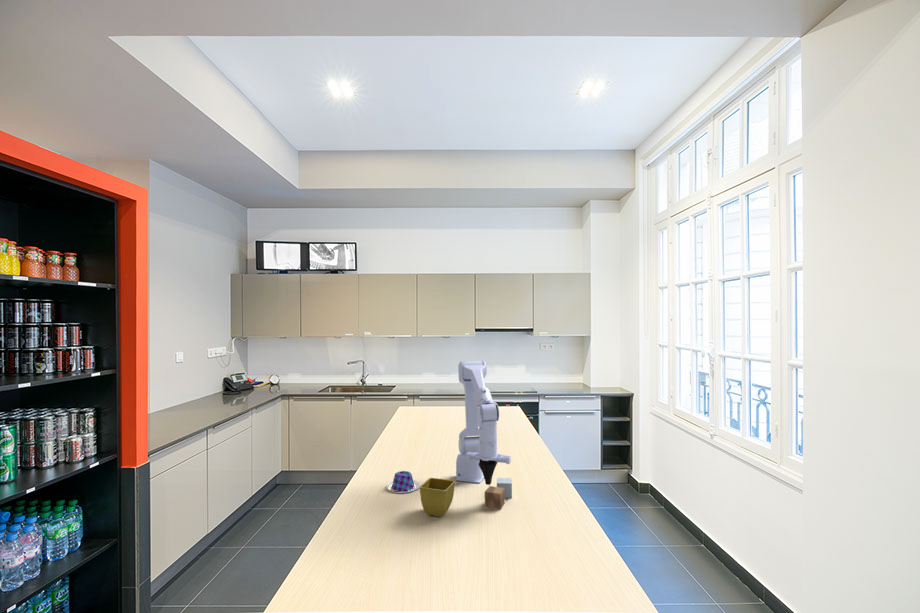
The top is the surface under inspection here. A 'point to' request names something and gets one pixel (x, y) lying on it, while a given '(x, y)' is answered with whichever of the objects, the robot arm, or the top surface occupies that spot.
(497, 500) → the walnut cube
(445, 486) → the flower pot
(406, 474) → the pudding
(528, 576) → the top surface
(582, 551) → the top surface
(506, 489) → the slate-grey cube
